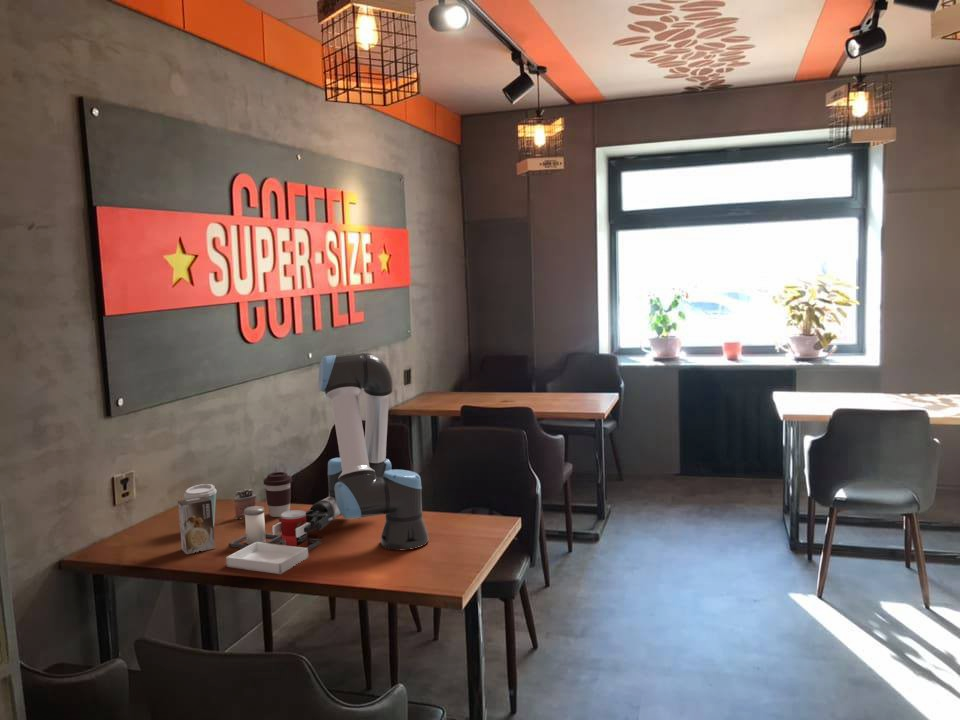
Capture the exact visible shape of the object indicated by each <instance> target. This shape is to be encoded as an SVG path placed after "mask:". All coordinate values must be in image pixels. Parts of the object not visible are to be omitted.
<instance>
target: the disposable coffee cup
mask: <svg viewBox="0 0 960 720" xmlns="http://www.w3.org/2000/svg"><path fill="white" fill-rule="evenodd" d="M217 492H218V491H217V488H215V485H214V484H212V483H211V484H209V483H205V484H204V483H201V484H196V485H193V486H191V487H188V488H187V489H185V492H184V493H183V497H184V500H187V499H192V498H198V497H204V496H206V497H208V498H209V499H210V500H211V503H212V515H213V527H215V518H216V502H217V501H216V500H217Z"/></svg>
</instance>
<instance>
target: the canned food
mask: <svg viewBox="0 0 960 720" xmlns="http://www.w3.org/2000/svg"><path fill="white" fill-rule="evenodd" d="M306 512H307V511H304V510H302V509H301V510H300V509H297V510H296V509H294V510H293V509H292V510H291V509H290V511H286V512H283V513H282V514H281V517H280V518H281V535H282V539H281V541H282V545H286V546H295V547H303V548H306V547H307V546H308V542H307V538H308V532H307V533H305V534H304V535H302V536H300V537H296V528H298V527H300V526H302V525H304V524H306Z"/></svg>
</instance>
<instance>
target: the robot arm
mask: <svg viewBox="0 0 960 720" xmlns="http://www.w3.org/2000/svg"><path fill="white" fill-rule="evenodd" d="M393 386H394V384H393V378H392V375H391V371H390V370H389V368H388V366H387V364H386V363H385V362H384V361H383V360H382V359H381V358H380V357H378V356H377V355H375V354H372V353H370V352H369V353H368V352H361V353H351V354H350V353H348V354H334V355H333V354H332V355H325V356H323V357H322V358H321V359H320V363H319V368H318V389H319V391H320V392H321V393H324V392H325V398H326V399H327V400H329V401H330V402H331V408H332V414H333V419H334V421H333V422H334V425H335V432H336V439H337V445H338V452H339V457H334V458H331V459H329V460H328V462H327V479H328V480H327V481H328V482H327V483H328V496H327V497H326V498H323V499H321V500H319V501H317V502H315V503H313V504H312V505H311V507H310V509H309V510H306V511H305V512H306V524H304V525H302V526H300V527H298V528H296V537H300V536H302V535H304V534H305V533H307V534H308V532H309V533H310V532H311V531H313V532H314V531H315V530H316V531H322V529H324V528H325V527H327V526H328V525H329V524H331V523H333V522H334V521H333V520H334V519H336V518H338V517H340V516H341V515H342V517H343V518H345V519H348V520H351V519H353V520H354V519H361V518H368V517H374V516H381V515H382V516H383V515H385V522H384V525H383V529H382V531H381V536H380V543H381V544H380V545H381V546H382V548H384V547H386V548H385V549H387V548H389V549H388V550H390V549H399V550H398V551H401V550H400V549H410V548H415V547H418V546H421V545H424V544H425V543H427V542H428V540H429V538H430V535H429V532H428V530H427V527H426V524H425V522H424V519H423V502H422V501H423V500H422V498H423V497H422V493H423V492H422V489H423V487H422V480H421V479H422V478H421V476H420V474H419V473H417V472H414V471H412V470H408V469H407V470H406V469H392V462H391V461H390V459H389V458H386V457H387V438H388V437H387V436H388V424H389V423H388V421H389V416H388V415H389V403H390V395H392V393H393ZM362 389H363V392H364V394H365V395H366V403H365V406H366V407H365V426H364V427H365V429H364V427H363V420H362V414H361V408H360V401H359V396H360V395H361V394H362ZM364 430H365V431H364ZM271 527H272V528H271V530H272V534H273V535H275V534H276V535H278V534H279V533H282V531H281V517H278V523H276V524H274V525H272V526H271ZM428 543H429V542H428Z"/></svg>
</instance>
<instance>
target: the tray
mask: <svg viewBox="0 0 960 720" xmlns="http://www.w3.org/2000/svg"><path fill="white" fill-rule="evenodd" d="M307 559H309V551H308V548H303V547H295V546H286V545H278V544H276V543H273V544H270V543H267V542H265V543H261V542H255V543H253V544H251V545H249V546H247V547H245V548H240V550H237V551H235V552H234V553H232V554H229V555H227V556H226V557H225V562H226V568H232V569H238V570H239V569H240V570H247V571H253V572H262V573H267V574H268V573H269V574H274V575H275V574H277V575H282V574H284V573H286V572H287V571H288V570H290V569H292V568H293V566H294V567H295V566H297V565H299V564H300V563H301V561H302V562H303V560H304V561H305V560H307ZM298 563H299V564H298ZM296 564H297V565H296Z"/></svg>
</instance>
